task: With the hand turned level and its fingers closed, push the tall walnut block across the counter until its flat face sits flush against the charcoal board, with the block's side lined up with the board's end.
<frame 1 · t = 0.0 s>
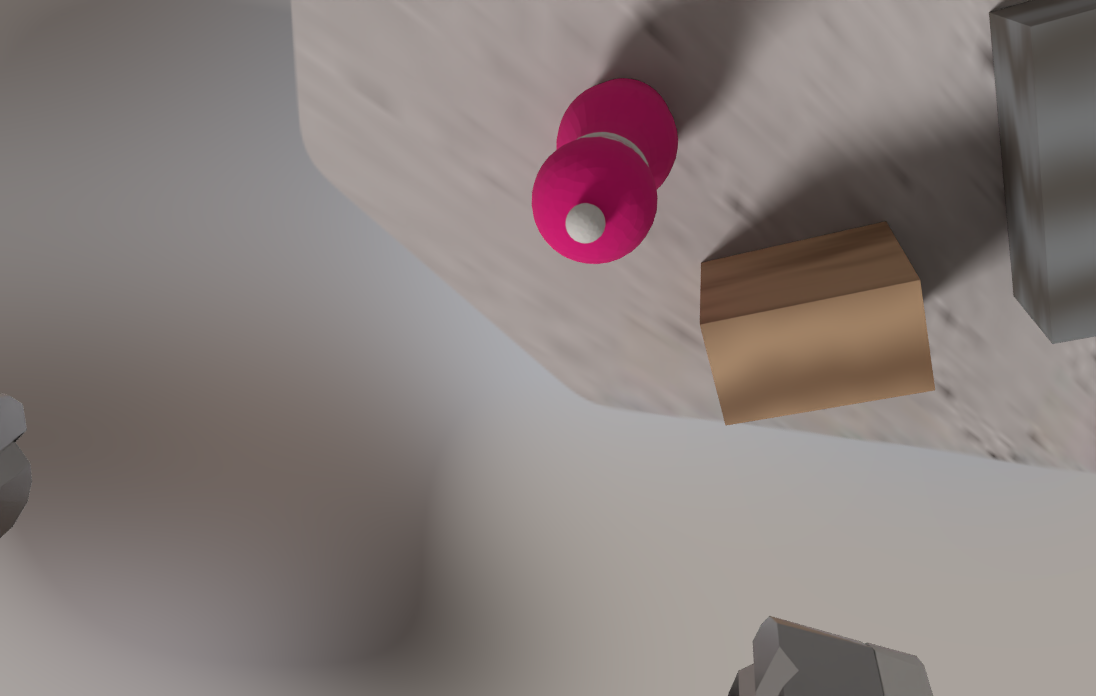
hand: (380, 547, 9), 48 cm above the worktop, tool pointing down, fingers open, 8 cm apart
pepper mill: (623, 127, 54), on the worktop
charcoal board: (1038, 155, 51), on the worktop
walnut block: (800, 289, 57), on the worktop
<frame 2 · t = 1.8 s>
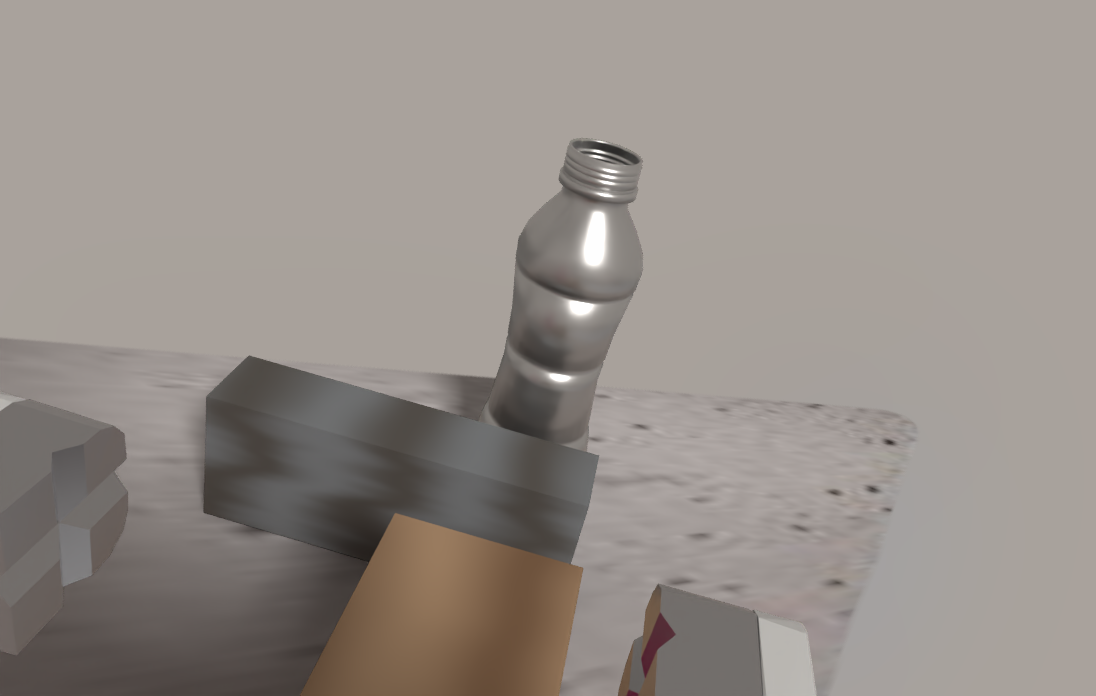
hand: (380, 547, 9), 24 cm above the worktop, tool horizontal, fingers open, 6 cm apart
charcoal board: (390, 537, 43), on the worktop
silver metal bottle: (520, 483, 49), on the worktop
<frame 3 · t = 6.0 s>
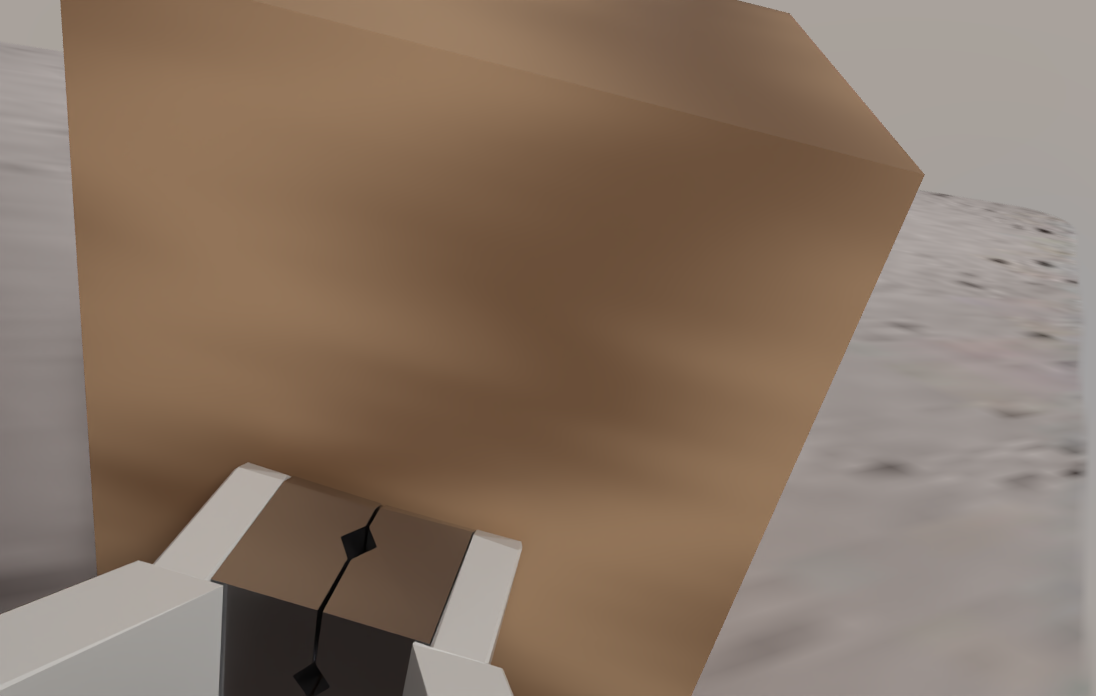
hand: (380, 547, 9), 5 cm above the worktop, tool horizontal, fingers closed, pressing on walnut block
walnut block: (465, 529, 17), on the worktop, touching gripper
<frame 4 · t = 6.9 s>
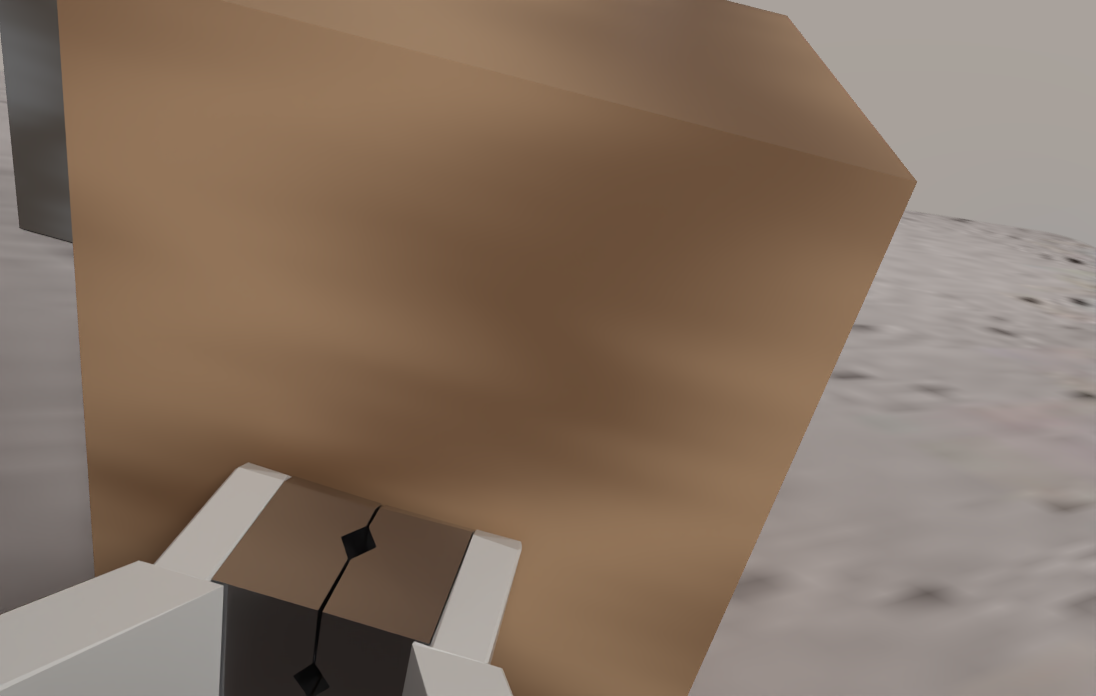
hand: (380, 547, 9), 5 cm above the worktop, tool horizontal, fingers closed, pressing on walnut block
charcoal board: (356, 284, 25), on the worktop
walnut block: (462, 530, 17), on the worktop, touching gripper
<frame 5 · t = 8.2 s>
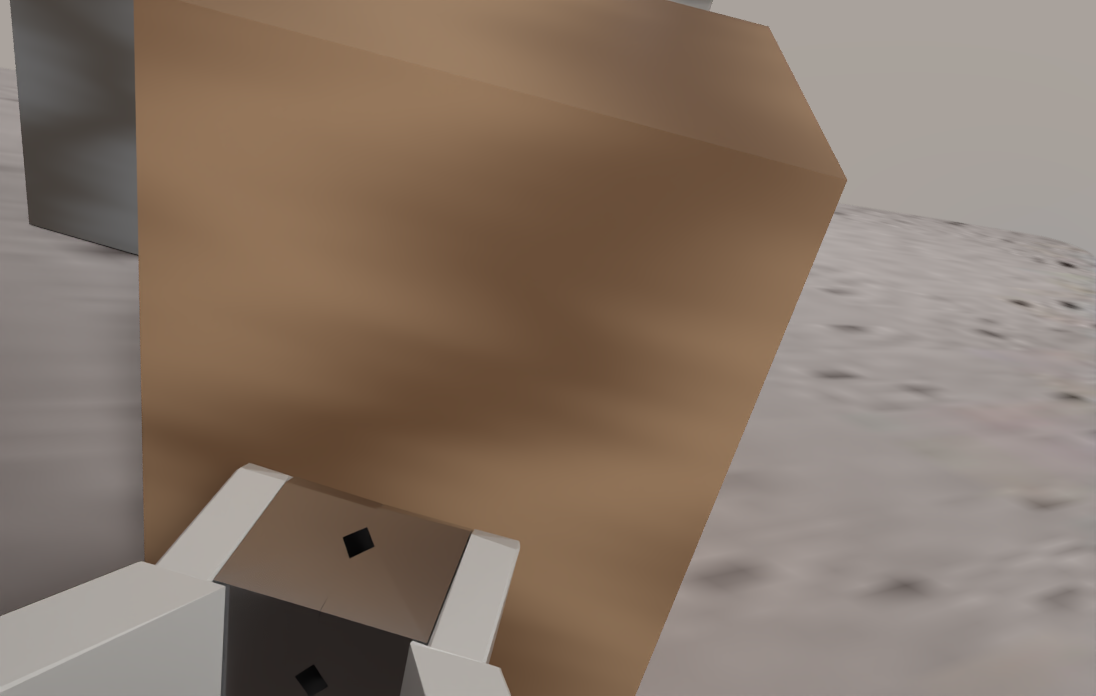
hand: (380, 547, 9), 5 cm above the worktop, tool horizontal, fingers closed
charcoal board: (356, 282, 25), on the worktop
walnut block: (465, 501, 18), on the worktop
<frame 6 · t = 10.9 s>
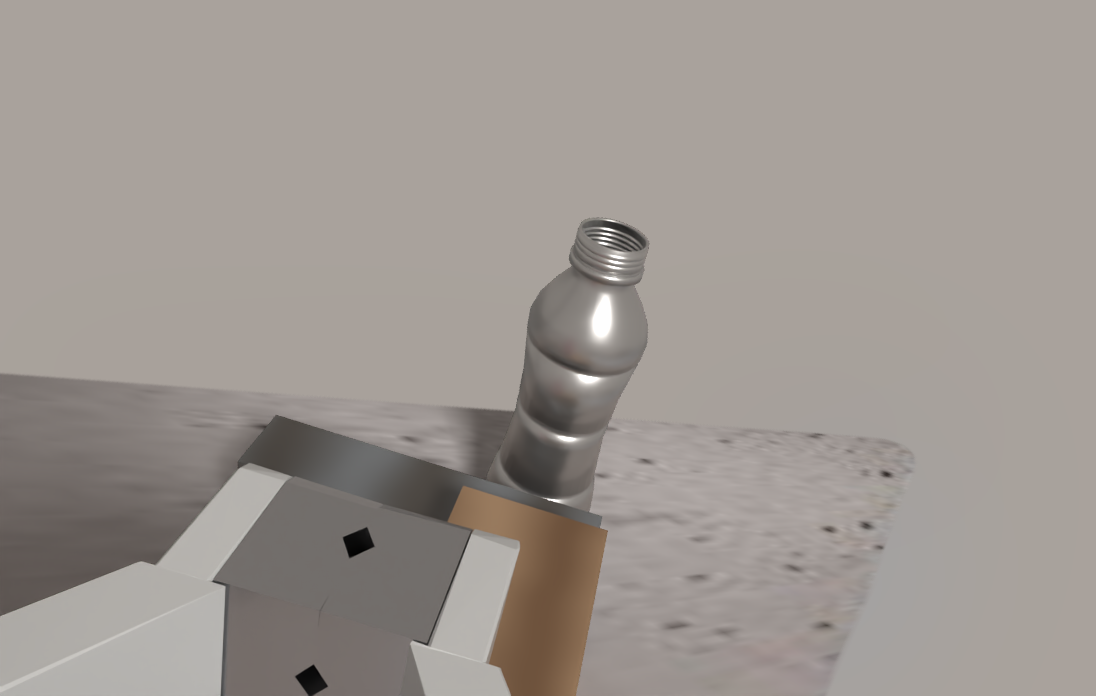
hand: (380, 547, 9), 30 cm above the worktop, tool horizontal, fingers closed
charcoal board: (407, 582, 46), on the worktop
silver metal bottle: (529, 523, 52), on the worktop
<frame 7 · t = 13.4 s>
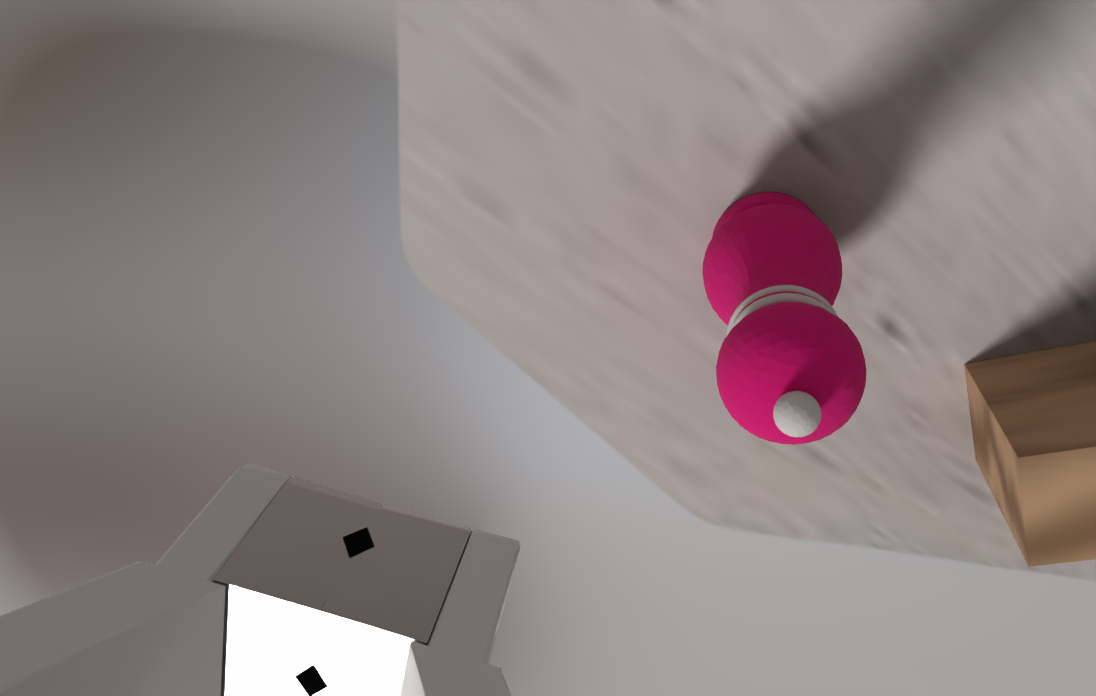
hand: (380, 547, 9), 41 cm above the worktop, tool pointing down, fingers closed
pepper mill: (765, 242, 49), on the worktop
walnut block: (1078, 395, 50), on the worktop
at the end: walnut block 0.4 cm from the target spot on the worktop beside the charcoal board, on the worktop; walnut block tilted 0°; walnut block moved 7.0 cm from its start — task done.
